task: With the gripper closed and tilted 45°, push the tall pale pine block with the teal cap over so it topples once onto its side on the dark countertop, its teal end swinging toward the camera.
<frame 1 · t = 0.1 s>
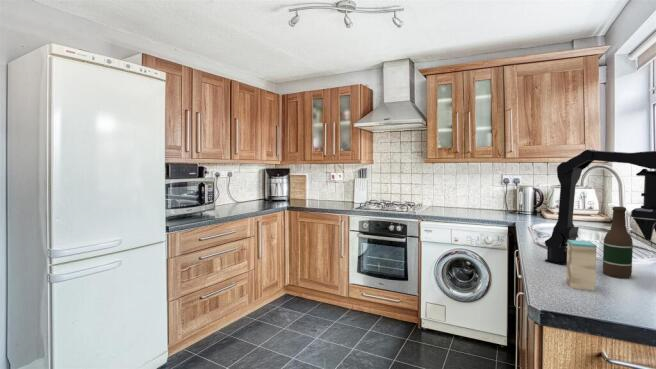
hand: (654, 238, 107), 15 cm above the countertop, tool pointing down, fingers open, 9 cm apart
beer bottle: (616, 275, 116), on the countertop
pine block: (580, 286, 106), on the countertop
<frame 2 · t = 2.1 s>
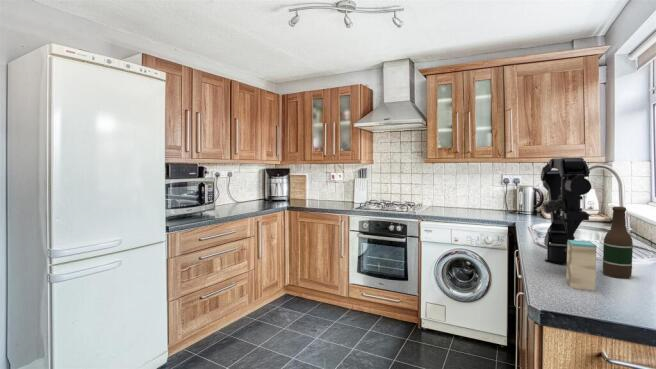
hand: (569, 236, 119), 13 cm above the countertop, tool pointing down, fingers closed
nothing on the countertop moved.
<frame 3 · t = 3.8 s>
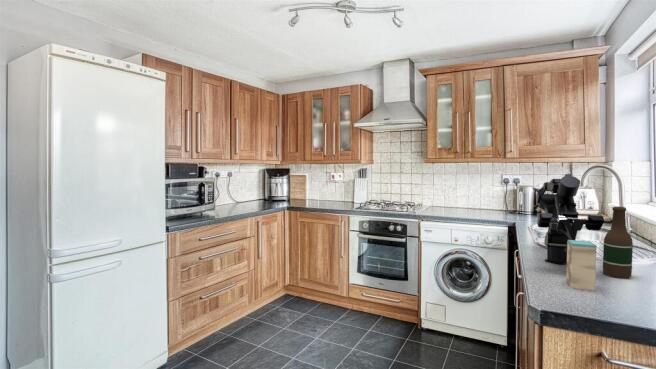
hand: (573, 241, 113), 13 cm above the countertop, tool tilted 45°, fingers closed
nothing on the countertop moved.
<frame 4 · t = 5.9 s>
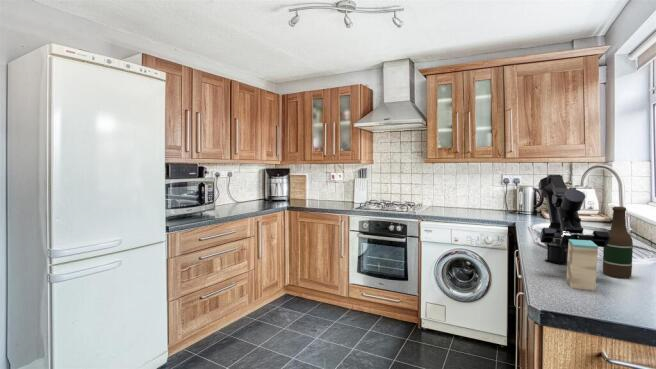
hand: (578, 258, 108), 8 cm above the countertop, tool tilted 45°, fingers closed
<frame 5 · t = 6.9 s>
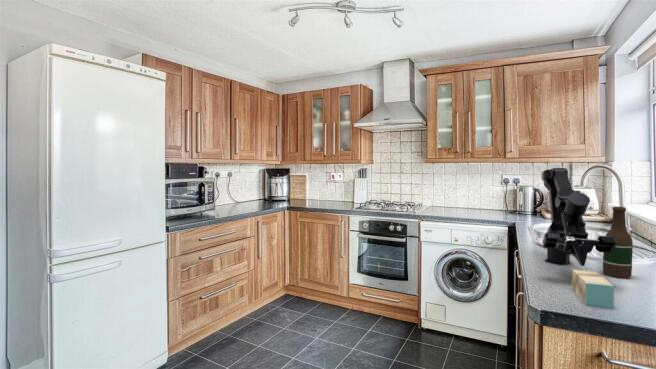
hand: (582, 265, 103), 7 cm above the countertop, tool tilted 45°, fingers closed
pine block: (583, 279, 103), point 3 cm above the countertop, tilted 90°
everything else where it was.
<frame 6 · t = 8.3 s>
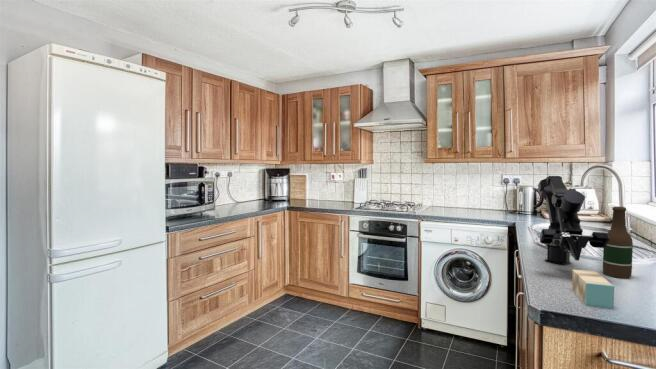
hand: (577, 260, 109), 7 cm above the countertop, tool tilted 45°, fingers closed
nothing on the countertop moved.
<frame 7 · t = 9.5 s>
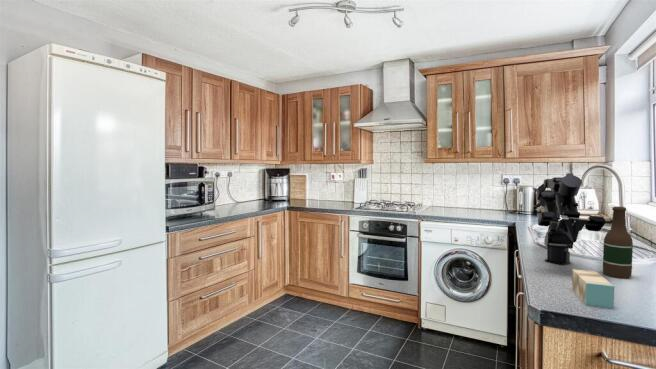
hand: (574, 241, 112), 13 cm above the countertop, tool tilted 45°, fingers closed
nothing on the countertop moved.
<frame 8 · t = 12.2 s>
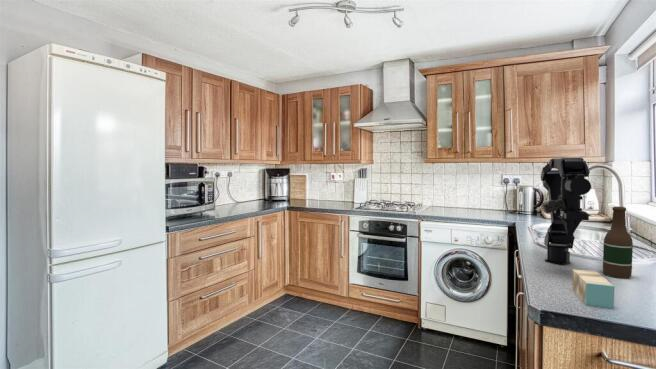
hand: (569, 236, 119), 13 cm above the countertop, tool pointing down, fingers closed
nothing on the countertop moved.
at the end: pine block tilted 90°; pine block inside the target area (0.5 cm from its centre), point 2.9 cm above the countertop; the gripper is holding nothing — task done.
